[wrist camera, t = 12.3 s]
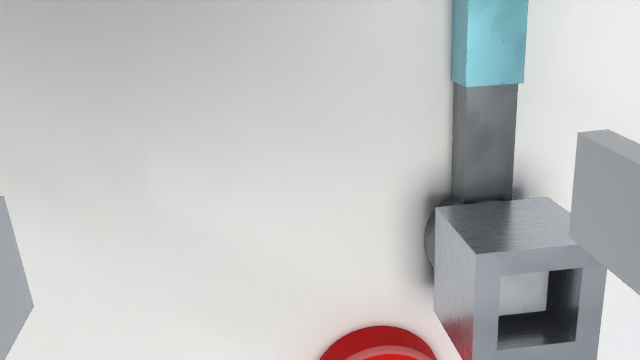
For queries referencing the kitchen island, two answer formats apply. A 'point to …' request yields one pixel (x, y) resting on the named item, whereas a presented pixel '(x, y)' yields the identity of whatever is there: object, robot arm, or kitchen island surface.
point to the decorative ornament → (379, 345)
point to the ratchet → (488, 124)
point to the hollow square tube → (509, 259)
